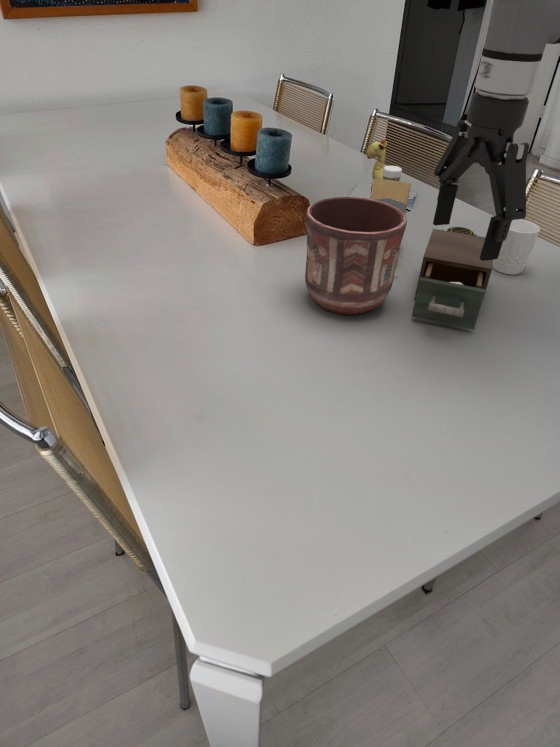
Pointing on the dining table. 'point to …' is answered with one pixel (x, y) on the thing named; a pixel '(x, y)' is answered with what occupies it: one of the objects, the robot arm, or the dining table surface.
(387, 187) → the sandwich container
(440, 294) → the drawer
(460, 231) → the tape measure
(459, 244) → the cabinet
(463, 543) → the dining table surface
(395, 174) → the sprinkles bottle
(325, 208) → the pottery
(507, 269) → the white cup
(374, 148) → the stuffed giraffe
